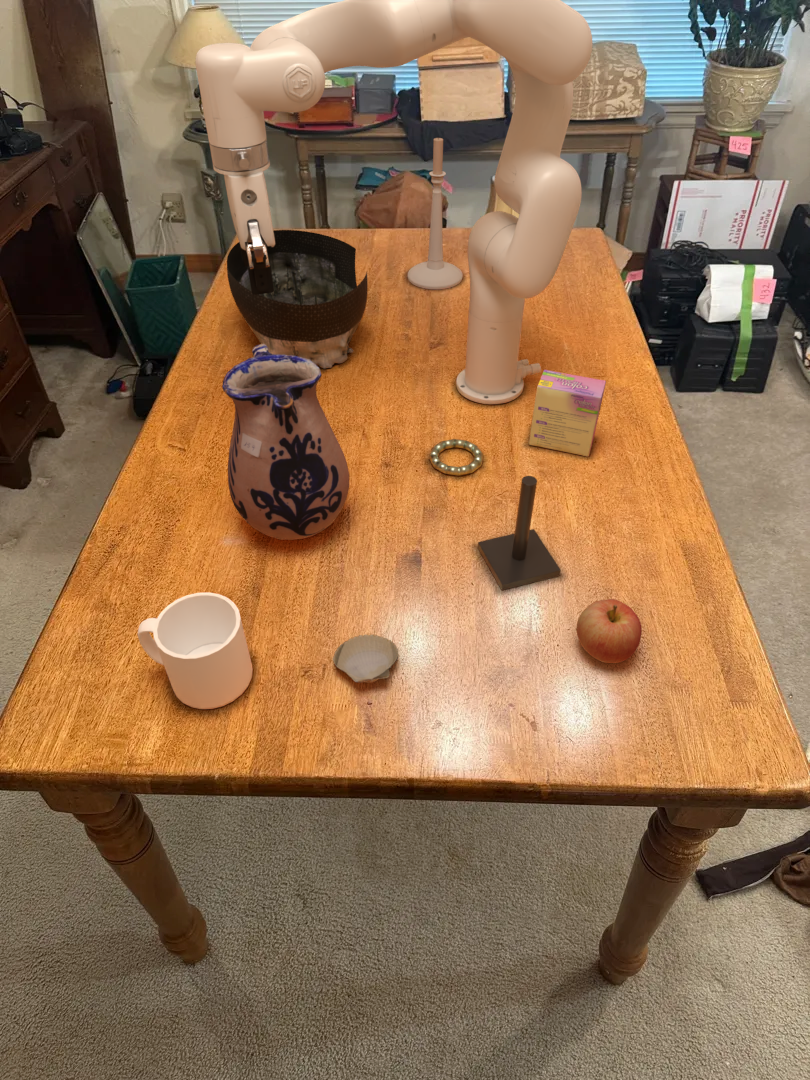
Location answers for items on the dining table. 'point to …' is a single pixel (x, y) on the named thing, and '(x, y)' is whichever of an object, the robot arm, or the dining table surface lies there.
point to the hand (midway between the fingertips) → (258, 278)
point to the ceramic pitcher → (283, 448)
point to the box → (566, 412)
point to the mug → (200, 649)
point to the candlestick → (436, 237)
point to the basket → (303, 297)
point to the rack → (520, 548)
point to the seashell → (366, 657)
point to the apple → (609, 631)
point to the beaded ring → (452, 469)
